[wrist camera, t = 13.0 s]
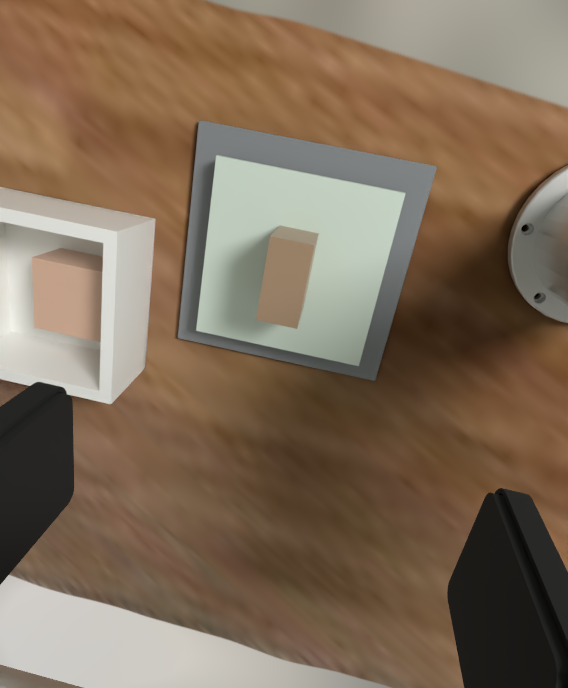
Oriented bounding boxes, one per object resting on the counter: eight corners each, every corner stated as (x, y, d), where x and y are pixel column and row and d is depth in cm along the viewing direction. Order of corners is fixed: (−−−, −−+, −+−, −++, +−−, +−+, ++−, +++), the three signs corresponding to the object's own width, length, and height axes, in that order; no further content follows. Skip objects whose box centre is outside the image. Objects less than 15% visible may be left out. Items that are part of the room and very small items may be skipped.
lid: (402, 191, 35) (414, 199, 29) (358, 357, 41) (360, 394, 35) (222, 155, 36) (195, 155, 30) (202, 323, 41) (176, 353, 35)
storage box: (155, 218, 39) (117, 231, 33) (145, 367, 44) (111, 404, 38) (-5, 185, 40) (-73, 192, 33) (4, 336, 45) (-53, 367, 39)
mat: (435, 166, 35) (437, 166, 34) (374, 378, 42) (375, 381, 41) (200, 120, 36) (198, 120, 35) (179, 336, 43) (177, 337, 42)
